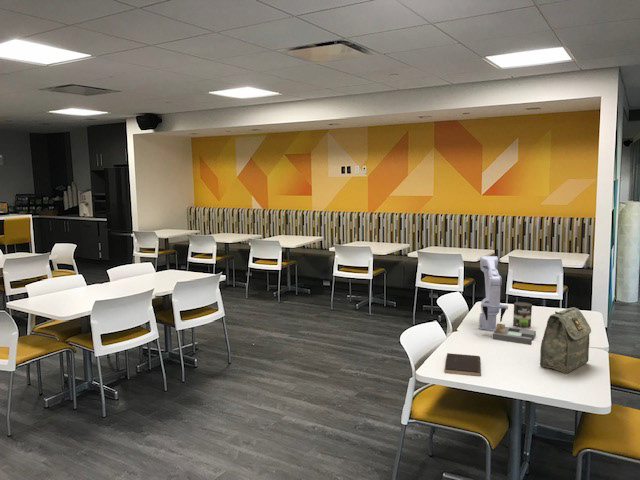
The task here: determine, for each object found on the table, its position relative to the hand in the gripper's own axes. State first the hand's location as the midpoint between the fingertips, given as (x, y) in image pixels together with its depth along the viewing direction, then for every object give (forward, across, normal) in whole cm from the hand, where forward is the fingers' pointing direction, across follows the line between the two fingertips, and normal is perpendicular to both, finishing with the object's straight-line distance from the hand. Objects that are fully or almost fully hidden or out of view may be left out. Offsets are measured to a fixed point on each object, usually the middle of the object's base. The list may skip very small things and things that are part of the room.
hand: (493, 320), depth 299 cm
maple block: (+6, +4, -2) cm, 7 cm away
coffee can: (+9, +14, +25) cm, 30 cm away
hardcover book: (+10, -9, -57) cm, 58 cm away
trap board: (+9, +11, 0) cm, 14 cm away
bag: (+9, +36, -37) cm, 52 cm away
